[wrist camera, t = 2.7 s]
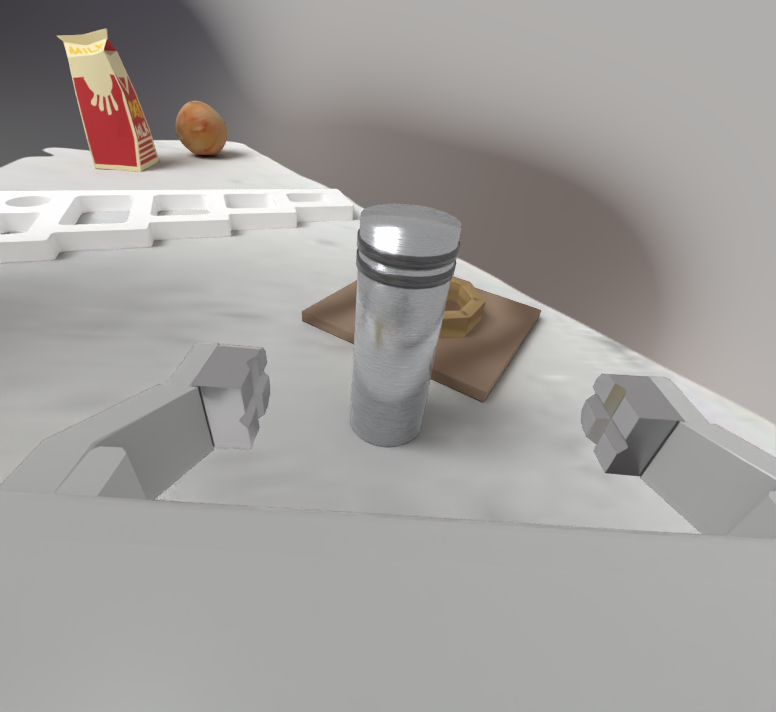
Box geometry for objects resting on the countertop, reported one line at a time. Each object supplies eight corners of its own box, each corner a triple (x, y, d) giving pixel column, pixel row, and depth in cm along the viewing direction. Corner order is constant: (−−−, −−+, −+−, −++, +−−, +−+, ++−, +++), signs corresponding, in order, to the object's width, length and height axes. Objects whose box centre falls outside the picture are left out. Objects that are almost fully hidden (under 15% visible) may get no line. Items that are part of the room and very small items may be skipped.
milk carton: (159, 161, 79) (130, 31, 67) (143, 172, 72) (107, 29, 60) (108, 157, 78) (69, 24, 66) (86, 168, 70) (38, 20, 58)
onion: (239, 158, 87) (233, 104, 81) (193, 162, 81) (183, 104, 75) (217, 149, 92) (210, 98, 86) (172, 152, 86) (161, 97, 80)
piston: (333, 424, 27) (336, 217, 19) (375, 385, 31) (393, 197, 23) (398, 461, 25) (434, 248, 17) (435, 414, 29) (479, 220, 21)
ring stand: (302, 320, 37) (301, 291, 36) (391, 267, 49) (394, 243, 47) (483, 402, 31) (493, 371, 29) (538, 318, 42) (547, 292, 40)
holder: (337, 205, 68) (337, 189, 67) (373, 246, 55) (375, 226, 54) (5, 212, 53) (-5, 191, 51) (-54, 271, 40) (-70, 245, 38)
